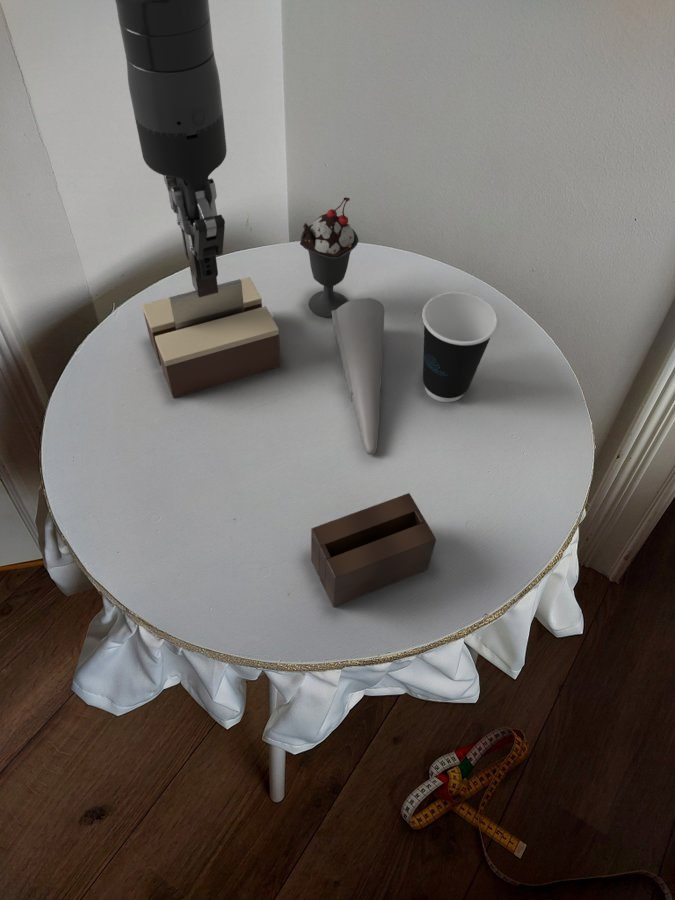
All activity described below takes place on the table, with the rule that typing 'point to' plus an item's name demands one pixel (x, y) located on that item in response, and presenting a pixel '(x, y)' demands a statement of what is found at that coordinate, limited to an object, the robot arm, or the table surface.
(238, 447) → the table surface
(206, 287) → the knife
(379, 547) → the knife stand
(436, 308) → the dixie cup
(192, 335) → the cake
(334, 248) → the sundae
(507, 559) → the table surface
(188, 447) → the table surface
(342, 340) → the long tapered cone
